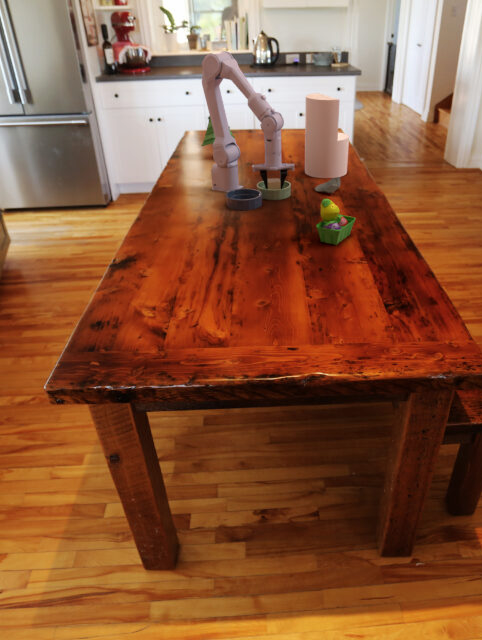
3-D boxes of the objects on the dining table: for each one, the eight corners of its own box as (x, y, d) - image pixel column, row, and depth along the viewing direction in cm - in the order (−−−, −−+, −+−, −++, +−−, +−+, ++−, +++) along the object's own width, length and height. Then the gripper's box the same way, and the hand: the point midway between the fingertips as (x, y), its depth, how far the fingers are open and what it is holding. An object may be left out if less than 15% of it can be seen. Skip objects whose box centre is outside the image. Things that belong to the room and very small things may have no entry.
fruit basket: (338, 247, 138) (340, 209, 131) (310, 241, 142) (311, 203, 135) (355, 234, 146) (358, 197, 139) (329, 228, 149) (330, 192, 143)
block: (268, 196, 173) (267, 182, 170) (267, 192, 177) (267, 178, 174) (280, 196, 173) (280, 182, 170) (279, 192, 177) (279, 178, 174)
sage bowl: (251, 198, 173) (250, 187, 171) (267, 188, 182) (266, 177, 180) (281, 203, 168) (281, 191, 166) (296, 193, 177) (296, 182, 175)
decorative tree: (199, 161, 214) (191, 85, 196) (210, 152, 226) (203, 80, 209) (229, 162, 212) (224, 85, 194) (238, 153, 224) (234, 80, 207)
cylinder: (316, 180, 190) (318, 101, 174) (297, 169, 203) (298, 94, 187) (354, 174, 196) (360, 97, 180) (334, 164, 209) (337, 91, 193)
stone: (319, 200, 174) (346, 191, 173) (316, 189, 172) (343, 180, 171) (315, 193, 183) (341, 184, 182) (312, 183, 181) (338, 174, 180)
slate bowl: (219, 208, 165) (218, 196, 162) (238, 197, 174) (237, 186, 171) (251, 214, 160) (250, 202, 158) (268, 202, 169) (268, 191, 167)
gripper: (252, 155, 163) (253, 195, 171) (295, 154, 164) (295, 194, 171) (251, 150, 169) (253, 189, 176) (293, 149, 169) (293, 188, 177)
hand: (274, 191), depth 174 cm, fingers closed on block, 4 cm apart
